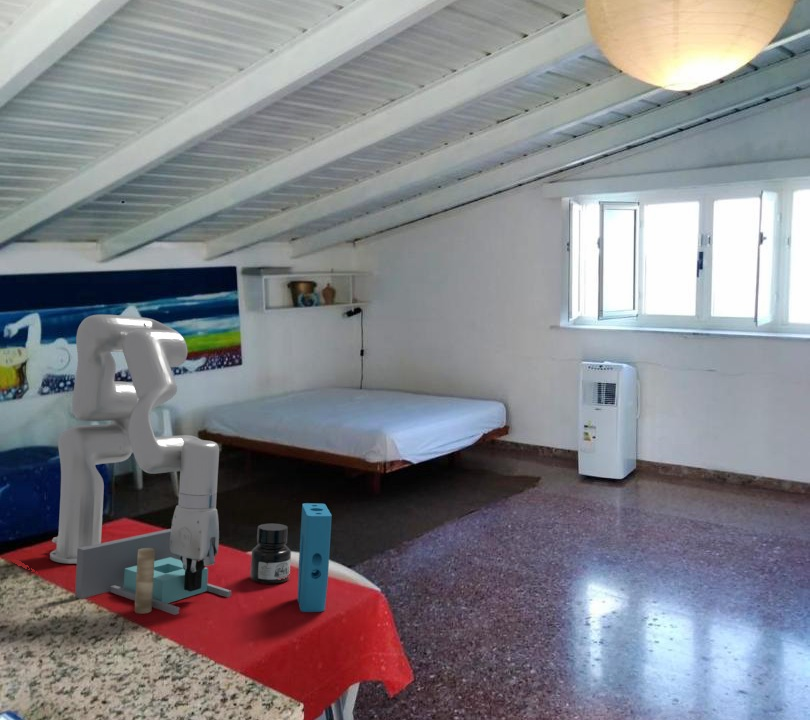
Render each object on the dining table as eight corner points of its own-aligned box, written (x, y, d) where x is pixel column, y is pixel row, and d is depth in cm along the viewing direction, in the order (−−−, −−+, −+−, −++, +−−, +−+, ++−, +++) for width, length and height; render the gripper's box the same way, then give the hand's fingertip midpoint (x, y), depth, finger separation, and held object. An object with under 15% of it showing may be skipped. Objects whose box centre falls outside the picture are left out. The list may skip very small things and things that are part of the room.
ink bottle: (261, 587, 168) (264, 533, 168) (241, 577, 175) (244, 525, 174) (298, 580, 174) (301, 528, 174) (277, 570, 181) (280, 520, 181)
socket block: (123, 591, 159) (124, 568, 159) (169, 579, 169) (170, 557, 169) (161, 605, 153) (162, 580, 153) (206, 591, 163) (208, 568, 163)
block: (326, 614, 154) (332, 516, 153) (301, 615, 153) (307, 516, 152) (319, 595, 165) (324, 503, 165) (296, 595, 164) (301, 503, 164)
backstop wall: (74, 596, 155) (77, 548, 155) (182, 567, 179) (184, 525, 179) (147, 623, 143) (150, 571, 143) (252, 589, 167) (255, 543, 166)
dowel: (131, 610, 149) (134, 550, 149) (144, 606, 152) (147, 547, 152) (141, 614, 148) (145, 553, 147) (155, 610, 150) (158, 550, 150)
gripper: (158, 497, 157) (153, 585, 158) (209, 509, 149) (204, 602, 149) (186, 492, 164) (182, 577, 164) (236, 504, 156) (231, 593, 156)
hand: (192, 589), depth 157 cm, fingers closed
